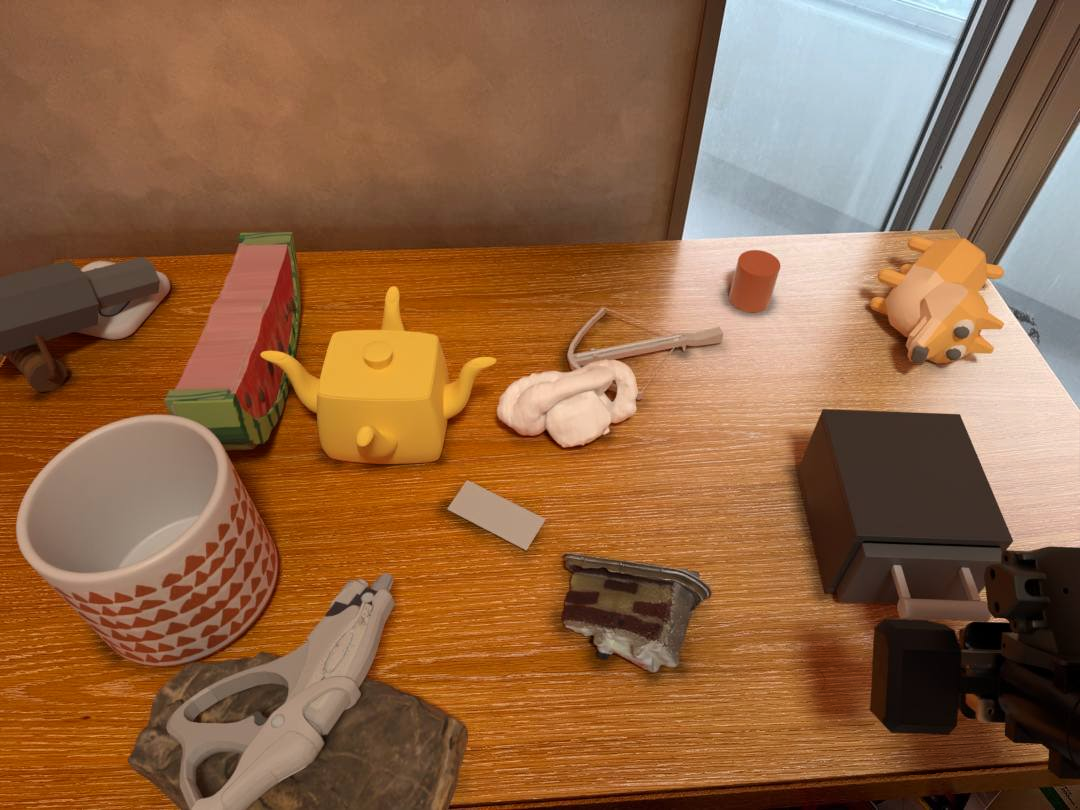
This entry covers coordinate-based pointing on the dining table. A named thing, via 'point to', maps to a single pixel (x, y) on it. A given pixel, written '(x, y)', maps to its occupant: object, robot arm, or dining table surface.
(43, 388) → the mechanical component
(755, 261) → the orange cylinder
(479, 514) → the grey rectangular card
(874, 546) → the drawer
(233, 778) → the gun
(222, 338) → the fruit slice
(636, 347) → the crossbow
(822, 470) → the dark brown hollow box
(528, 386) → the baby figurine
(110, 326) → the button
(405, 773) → the stone
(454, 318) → the dining table surface
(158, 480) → the vase
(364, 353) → the teapot
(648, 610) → the chocolate cake
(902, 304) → the dog
